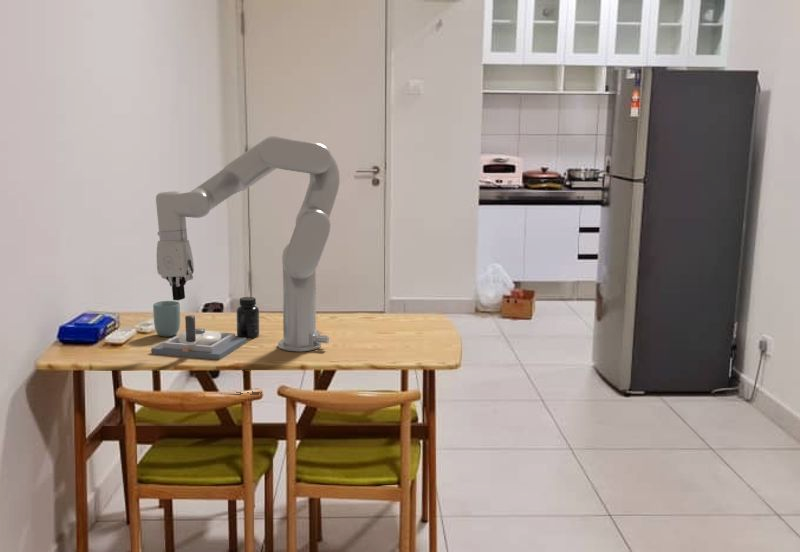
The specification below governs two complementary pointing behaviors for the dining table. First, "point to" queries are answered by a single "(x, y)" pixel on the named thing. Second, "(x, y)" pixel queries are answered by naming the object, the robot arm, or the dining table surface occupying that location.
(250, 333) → the supplement bottle
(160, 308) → the cup
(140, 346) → the dining table surface
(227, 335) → the board
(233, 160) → the robot arm
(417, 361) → the dining table surface
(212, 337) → the dial
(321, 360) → the dining table surface
